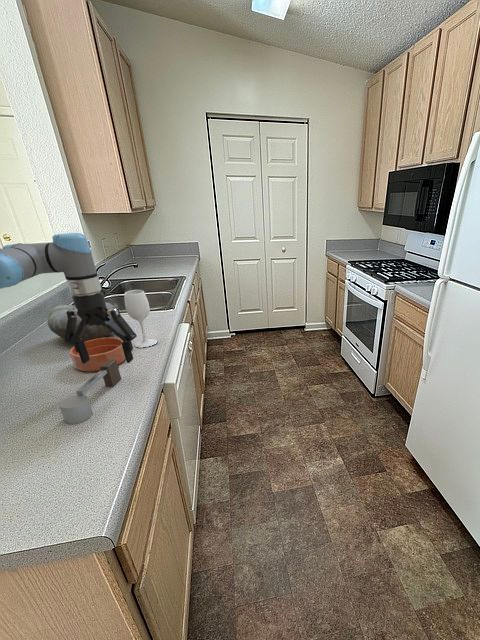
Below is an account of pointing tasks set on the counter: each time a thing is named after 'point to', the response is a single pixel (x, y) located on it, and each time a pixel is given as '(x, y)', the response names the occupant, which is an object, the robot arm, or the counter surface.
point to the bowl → (99, 353)
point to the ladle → (78, 405)
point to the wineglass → (138, 313)
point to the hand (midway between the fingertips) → (108, 361)
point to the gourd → (59, 323)
